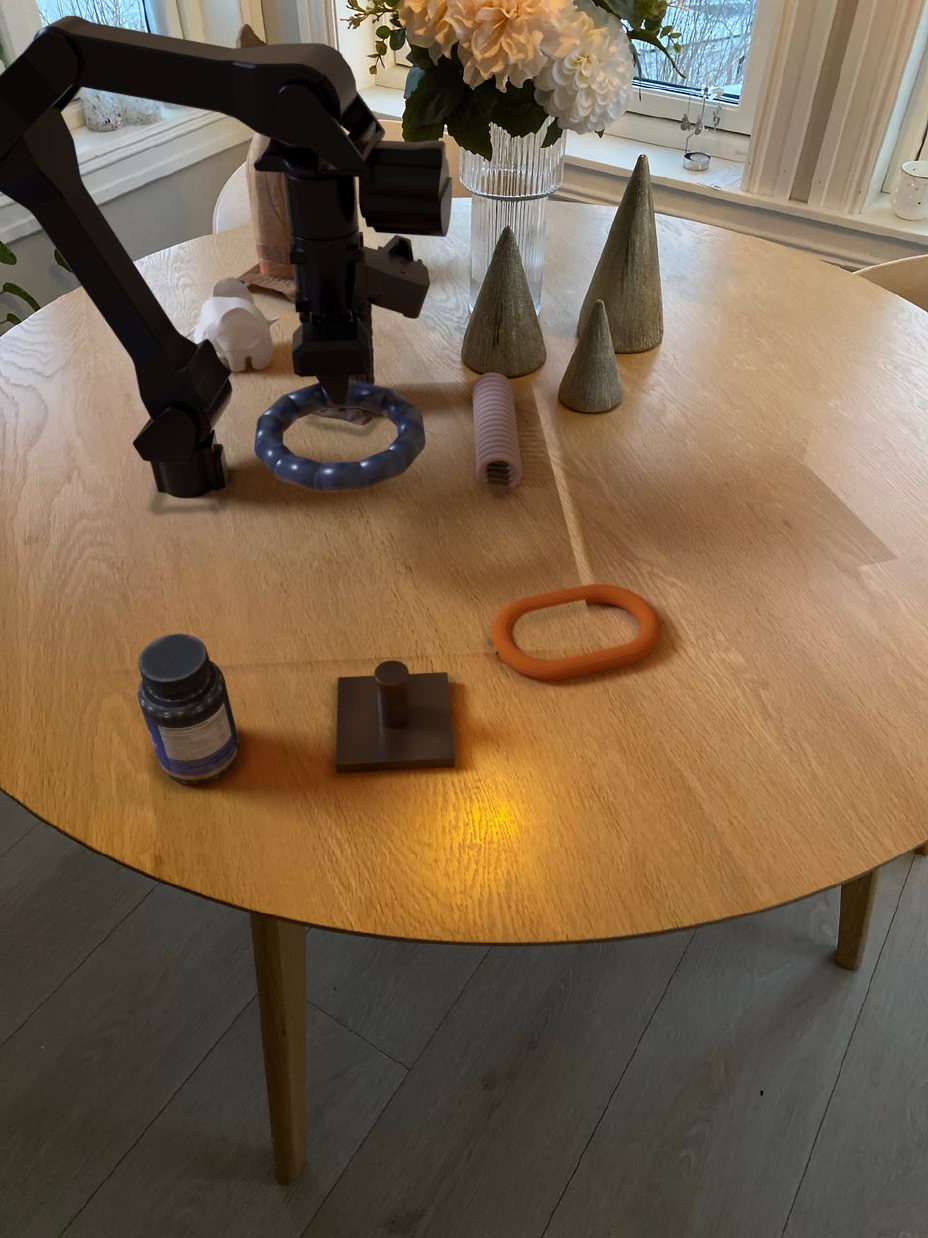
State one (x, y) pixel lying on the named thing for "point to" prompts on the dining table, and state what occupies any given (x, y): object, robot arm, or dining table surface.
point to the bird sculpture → (266, 209)
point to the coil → (495, 426)
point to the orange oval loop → (584, 661)
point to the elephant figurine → (235, 326)
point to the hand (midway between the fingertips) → (339, 396)
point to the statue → (356, 414)
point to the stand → (393, 721)
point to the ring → (339, 473)
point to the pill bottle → (187, 709)
